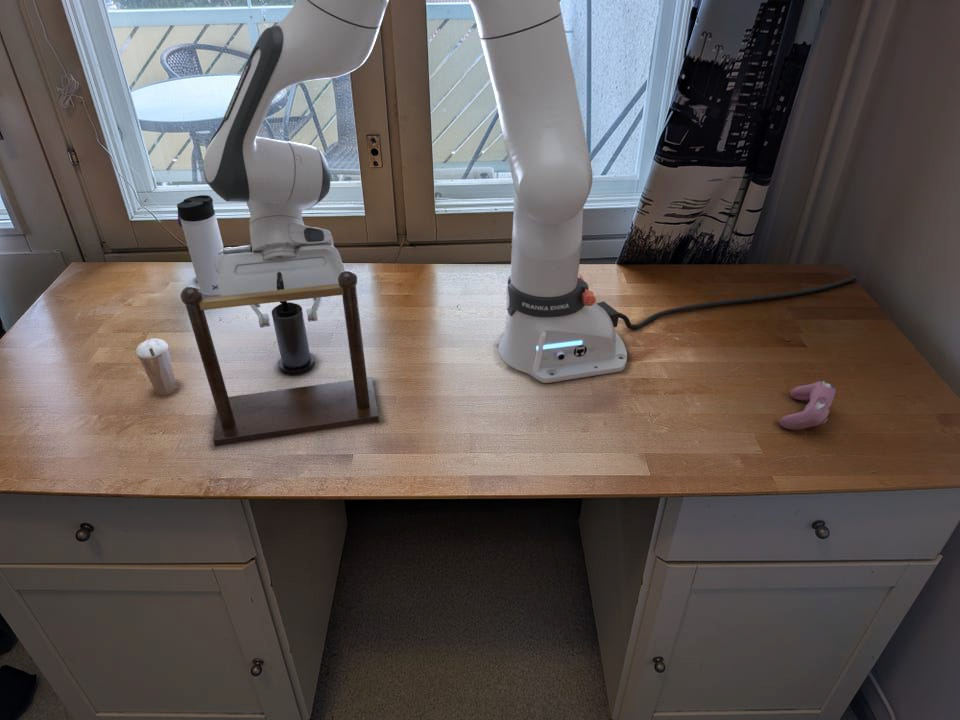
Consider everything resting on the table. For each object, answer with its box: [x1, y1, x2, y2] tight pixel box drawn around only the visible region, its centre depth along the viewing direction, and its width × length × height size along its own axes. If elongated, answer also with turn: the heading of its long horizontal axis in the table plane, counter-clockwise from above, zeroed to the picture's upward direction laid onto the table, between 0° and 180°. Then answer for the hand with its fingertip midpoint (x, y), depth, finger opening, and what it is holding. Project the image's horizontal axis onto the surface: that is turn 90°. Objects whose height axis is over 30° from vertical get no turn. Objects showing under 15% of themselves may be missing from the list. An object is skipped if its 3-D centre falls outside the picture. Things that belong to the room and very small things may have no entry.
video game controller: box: [779, 380, 837, 431], centre depth 100 cm, size 10×5×7 cm, turn 148°
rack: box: [180, 269, 380, 447], centre depth 94 cm, size 10×24×25 cm, turn 104°
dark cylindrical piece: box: [271, 272, 316, 377], centre depth 105 cm, size 8×6×18 cm
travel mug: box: [176, 194, 225, 298], centre depth 125 cm, size 6×7×20 cm
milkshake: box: [135, 337, 178, 396], centre depth 102 cm, size 4×5×10 cm
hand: (289, 323), depth 106 cm, fingers open, 6 cm apart
